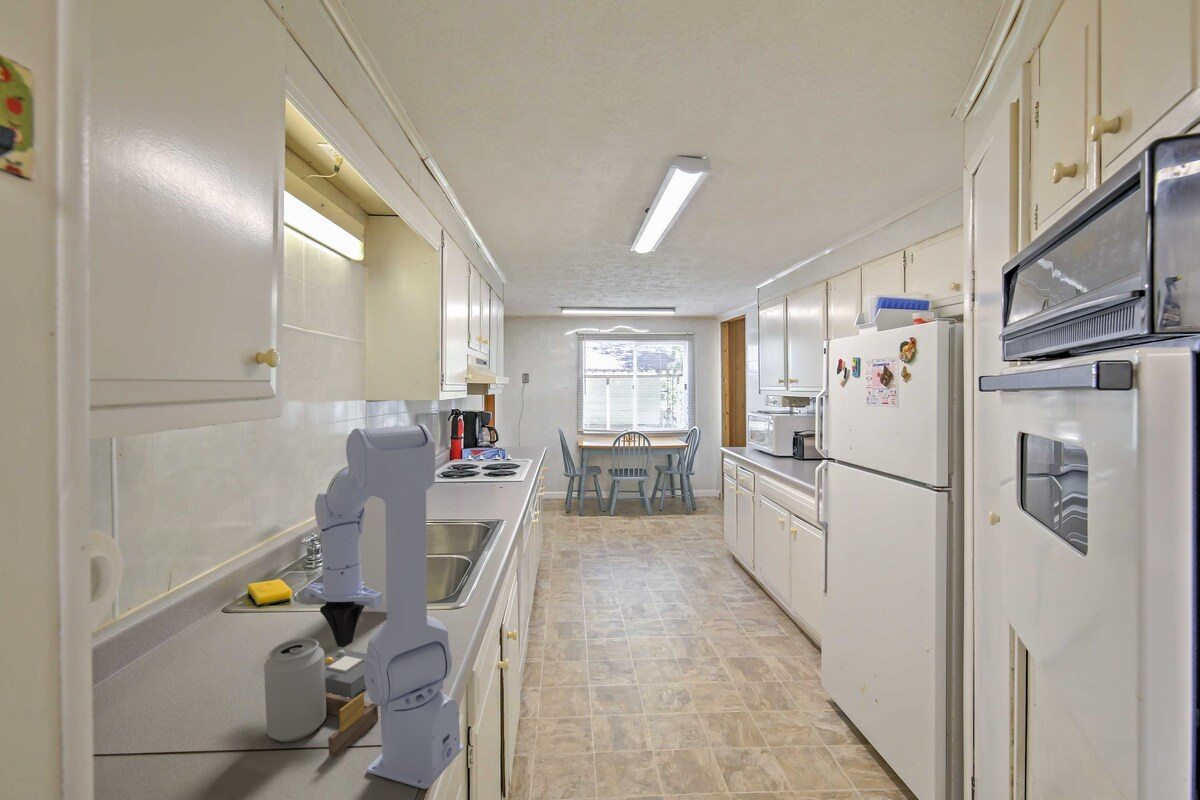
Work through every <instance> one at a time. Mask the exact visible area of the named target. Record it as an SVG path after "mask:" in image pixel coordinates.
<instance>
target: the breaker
mask: <svg viewBox="0 0 1200 800" xmlns="http://www.w3.org/2000/svg"><path fill="white" fill-rule="evenodd" d="M361 663H362V659H358V658H353V657H348V656H345V657H343V658H341V659H340V660H338V661H337V662H335V663H334V664H332V665H330V666H329V667H328V668H329V670H330V671H335V672H339V673H344V674H346V673H348V672H349V671H351V670H352V669H354V668H355V667H357V666H358V665H360V664H361Z"/></svg>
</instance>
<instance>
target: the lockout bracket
mask: <svg viewBox="0 0 1200 800" xmlns="http://www.w3.org/2000/svg"><path fill="white" fill-rule="evenodd" d="M326 714H331V715H333V716H339V728H338V730H336V731H335V732H334V733H332V734H331V735H330V736H329V737H327V739H328V757H332V758H336V757H337V756H338V755H341V753H342V752H343V751H345V749H347V748H348V747H350V745H352V744H353V743H354V742H355V741H356V740H358V739H359V738H360V737H361V736H362V735H363V734H364V733H366V732H367V731H369V729H371V726H372V727H373V726H374V725H376V724H377V723H378V722H379V706H377V705H376V704H375V703H373V702H372V703H371V702H367V701H365V694H364V693H361V692H360V693H359V694H358V695H356V696H355V697H354V698H352V699H351V698H347V697H343V696H339V695H334V694H330V693H326ZM377 721H378V722H377Z"/></svg>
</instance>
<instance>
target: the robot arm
mask: <svg viewBox="0 0 1200 800" xmlns="http://www.w3.org/2000/svg"><path fill="white" fill-rule="evenodd" d="M345 445H346V447H345V448H346V449H345V453H346V454H345V455H346V456H345V457H346V461H347V465H348V468H346V469H345V468H344V469H343V470H342V471H341V472H340V473H339V475H337V477H336V478H335V480H334V482H333V484H332V485H331V487H330V489H329V490H328V492H327V493H324V492H320V493H317V494H316V497H315V503H314V514H315V520H316V523H317V526H318V528H319V529H320V531H321V532H320V533H321V557H322V558H321V560H322V581H323V582H322V583H317V582H314V583H312V584H310V585H307V586H304V593H305V594H304V596H305V599H309V600H311V599H313V598H315V599H321V600H323V601H325V605H322V606H321V607H320V608H319V609H320V610H319V612H320V614H321V615H322V616H323V618H325V621H326V622H327V623H328V625H329V627H330V630H331V632H332V634H333V638H334V640H335V643H336V646H337V647H339V648H346V647H347V646H349V645H351V644H352V643H353V640H354V636H355V632H356V628H357V624H358V621H359V619H360V616H361V614H362V612H363V611H362V610H363V608H364V606H369V608H371V609H375V608H377V607H378V606H380V605H382V604H383V601H382V593H380V592H376V591H374V590H372V589H369V588H367V587H365V582H362V581H361V553H360V534H362V531H363V520H364V516H365V508H364V505H365V504H366V502H367V501H368V499H369V498H370V496H371V495H372V496H375V497H379V498H382V499H383V501H384V502H385V506H386V596H387V612H386V620H385V622H384V623H383V625H381V626H380V628H379V629H377V631H376V632H375V633H374V634H373V635H372V636H371V638H370V639H369V640H368V642H367V646H366V647H367V648H366V654H367V658H366V662H365V665H364V680H365V686H366V688H365V690H366V693H367V695H368V697H369V699H370V701H371V702H372V703H374V704H376V705H377V706H378V707H380V732H381V733H380V734H381V735H380V736H381V740H380V741H381V753H380V754H379V755H378V757H376V758H375V759H374V760H373V761H371V763H370V764H369V765H368V766H367V767H366V772H367V773H369V774H372V775H376V776H379V777H382V778H386V779H389V780H393V781H395V782H400V783H402V784H406V785H408V786H409V785H410V786H413V787H416V788H420V789H423V790H427V789H430V787H431V786H432V785H433V784H434V783H435V781H436V780H438V778H439V777H440V776H441V775H442V774H443V773H444V771H445V770H446V769H447V768H448V767H449V766H450V764H451V763H452V762H453V761H454V760H455V759H456V758H457V756H459V754H460V753H461V752H462V751H463V750H464V744H463V743H461V739H460V735H461V734H460V709H459V705H458V702H457V701H456V700H455V699H453V698H452V697H449V696H448V695H446V694H445V693H444V692H443V691H442V690H443V689H444V680H446V679H448V678H449V677H450V675H451V671H452V666H453V655H452V649H451V646H450V640H449V631H448V629H447V628H446V626H445V625H444V624H443V623H442V622H441V621H440V620H439V619H437V618H435V617H432V616H429V615H428V604H427V603H428V591H427V589H428V586H427V584H428V582H427V581H428V580H427V579H428V578H427V577H428V576H427V573H428V572H427V570H428V568H427V567H428V565H427V555H428V553H427V549H428V548H427V543H428V542H427V540H428V539H427V491H428V490H429V489H430V488H432V486H434V484H435V483H436V443H435V440H434V438H433V436H432V434H431V432H430V430H429V429H428V428H427V426H426V425H424V424H423V423H416V424H414V425H413V424H412V425H399V426H386V427H373V428H372V427H371V428H361V427H359V428H358V427H356V428H353V429H352V431H350V433H349V434H348V437H347V440H346V444H345Z"/></svg>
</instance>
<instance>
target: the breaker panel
mask: <svg viewBox="0 0 1200 800" xmlns="http://www.w3.org/2000/svg"><path fill="white" fill-rule="evenodd" d="M345 656H348V657H353V658H358V659H362V663H361V664H360V665H358V666H357V667H355V668H354V669H352V670H351V671H349V672H348V673H346V674H344V673H339V672H335V671H330V670H329V668H328V667H329V666H330V665H332V664H334V663H335V662H337V661H338V660H340V659H341V658H343V657H345ZM366 658H367V653H364V652H358V651H353V650H348V649H343V648H340V649H339V650H337V651H335V652H334V653H331V654H330V655H329V656H326V657H324V663H325V690H326V693H331V694H334V695H340V696H343V697H349V698H352V697H353V696H355V695H356V694H357V693H359V692H360V691H361V690H363V689H364V688H365V689H366V686H365V680H364V665H365V662H366ZM365 689H364V690H365ZM364 690H363V691H364ZM361 692H362V691H361ZM361 692H360V693H361ZM360 693H359V694H360ZM357 695H358V694H357ZM357 695H356V696H357ZM356 696H355V697H356ZM353 698H354V697H353ZM353 698H352V699H353Z"/></svg>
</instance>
